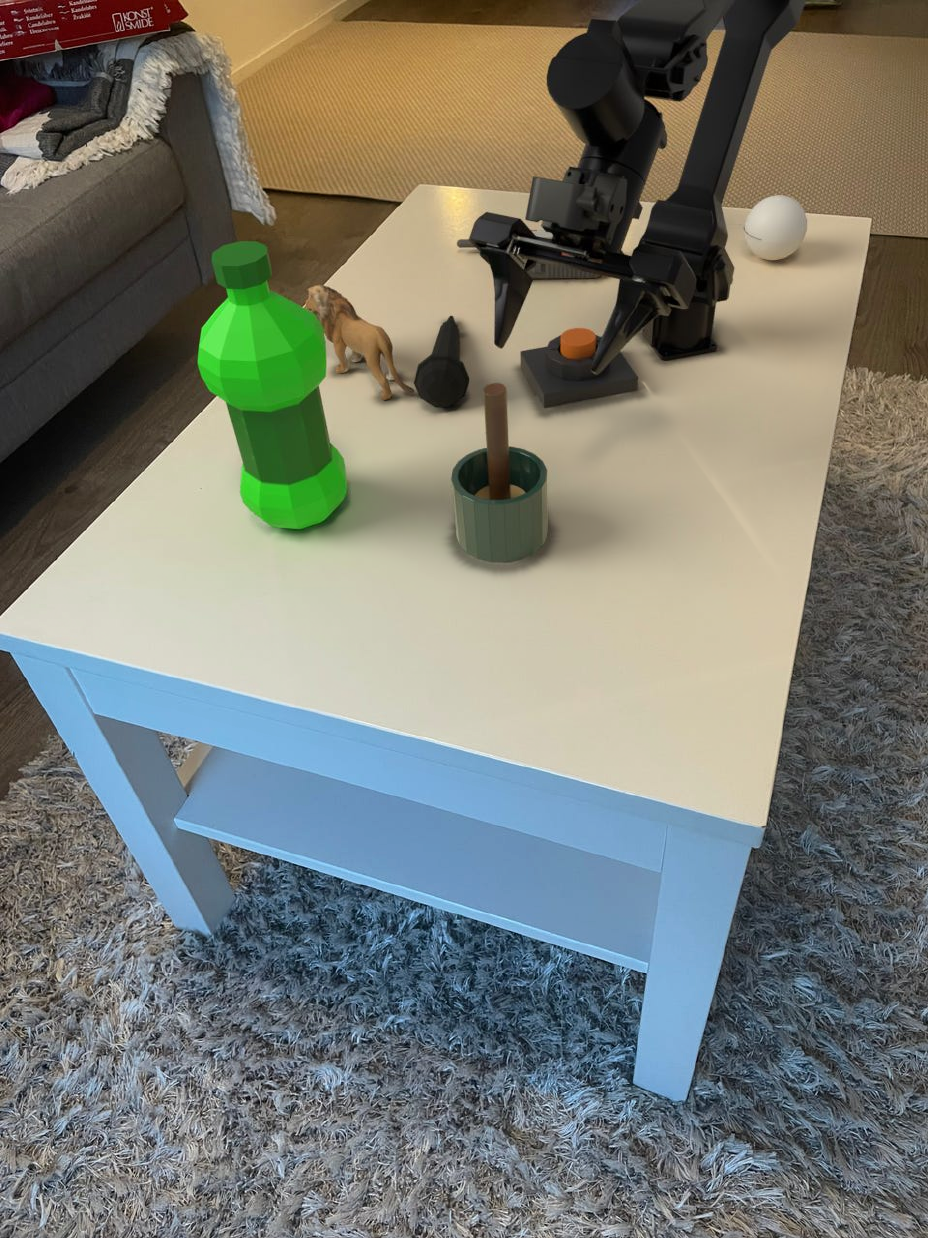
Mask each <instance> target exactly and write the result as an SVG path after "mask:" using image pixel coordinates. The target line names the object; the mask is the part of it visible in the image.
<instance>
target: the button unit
mask: <svg viewBox="0 0 928 1238" xmlns="http://www.w3.org/2000/svg"><path fill="white" fill-rule="evenodd" d="M561 335H562V334H559V335H558V336H556V337H555V338H553V339H551V340H549V342H548V344H547V346H542V347H536V348H531V349H526V350H520V352H519V353H520V370H521V373H522V375H523V376H524V378H525V379H526V381H527V383H528V385H529V387H530V389H531V391H532V393H533V395H534V396H535V397H537V398H538V399H539V402H540V404H541V405H542V407H543V409H548V408H553V407H557V406H564V405H568V404H574V403H579V402H584V401H590V400H596V399H602V398H605V397H610V396H617V395H622V394H626V393H631V392H637V391H638V384H639V383H638V382H639V376H638V374H637V373H636V372H635V370H634V368H632V366H631V364H630V363H629V362H628V360H627V359H626V358H625V356H624V355H623V353H622V351H620V352H619V353H618V354H617V355H616V356H615V357H614V358H613V359H612V360H611V361H610V363H609V364H608V365H607V366H606V367H605V368H604V369H603V370H602V371H601V372H600V373H599V374H594V373H593V372H592V371H591V367H592V363H593V360H594V356H595V354H594V355H593V356H591V357H589V358H584V359H570V358H566V357H564V356H562V355H561ZM595 335H596V350H597V348H598V345H599V343H600V341H601V338H602V336H599V335H597V334H595ZM595 353H596V352H595Z"/></svg>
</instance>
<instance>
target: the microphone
mask: <svg viewBox="0 0 928 1238" xmlns="http://www.w3.org/2000/svg"><path fill="white" fill-rule="evenodd" d="M460 343H461V342H460V328H459V325H458V324H457V323H456V321H455V317H454V316H453V315H449V316H448V318H447V320H446V321H444V322H442V324H441V325H440V327H439V330H438V332H437V336H436V339H435V342H434V345H433V348H432V352H431V354H430V355H428V356H427V357H426V358H425V359H423V360H422V361H421V362H419V363H418V364H417V368H416V372H415V376H414V380H413V385H414V388H415V389H416V391H417V394H418V396H419V398H420V399H421V400H422V401H424V402H426V403H428V404H429V405H431V406H433V407H434V408H449V407H453V406H455V405H456V404H457V403H458V402H460V401H461V400H463V399H464V398H465V397H466V395H467V391H468V387H469V384H470V376H469V374H468V371H467V368H466V366H465V364H464V362H463V361H461V360H460V359H461V355H460V353H461V352H460V350H461V348H460Z"/></svg>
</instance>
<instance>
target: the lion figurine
mask: <svg viewBox="0 0 928 1238" xmlns="http://www.w3.org/2000/svg"><path fill="white" fill-rule="evenodd" d="M307 291H308V298H307V299H306V300H305V305H304V306H303V308H304V309H306V310H308V311H310V312H311V313H313V314H315V316H316V317H317V319H318V320H319V322H320V323H321V325H322V327H323V330H324V335H325V339H326V340H328V341H329V342H330V343H332V344H333V345H332V346H333V349H334V352H335V356H336V357H337V359H338V361H339V364H338V365H337V366H336V367H335V371H336V373H337V374H344V373H346V372H348V371H349V368H350V367H349V362H348V359H347V356H346V350H347V347H348V348H349V349H350V350H351V351H352V353H351V356H350V360H351V362H352V363H359V362H361V361H362V359H363V357H362V355H363V356H364V359H365V361H366V364H367V367H368V369H369V371H370V373H371V374H372V376H373V377H374V378H375V380H376V381H377V382H378V383H379V385H380V386H381V388H382V390H381V391H380V394H379V396H380V399H381V400H382V401H386V400H389V399H391V397H392V395H393V393H392V390H391V386H390V383H389V381H394V382H395V383H396V384H397V385H398V387H400V389H402V390H403V391H404V392H405V393H406V394H410V395H412V394H415V392H416V391H415V389H414V388H412V387H411V386H409V385H408V384H406V383H404V382H402V380H401V379H400V377H399V375H398V374H397V369H396V367H395V365H394V355H393V351H394V346H393V343H392V340H391V338H390V336H389V335H388V333H387V332H386V331H385V329H384V328H383V327H381V326H379V325H374V324H372V323H370V322H368V321H366V320H364V319H363V318H361V316H359V315H358V314H357V312H356V309H355V308H354V306H353V304H352V303H351V302H350V301H349V300H348V298H346V297H345V296H343V294H342V293H340V292H338V291H337V290H336V289H335V288H331V287H329V286H326V285H324V284H318V285H313V286H310V287H308V288H307ZM381 356H382V358H383V360H384V362H385V364H386V365H387V370H388V372H387V373H386V374H385V375H384V373H383V371H382V367H381Z"/></svg>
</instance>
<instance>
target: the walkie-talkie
mask: <svg viewBox="0 0 928 1238" xmlns="http://www.w3.org/2000/svg"><path fill="white" fill-rule="evenodd" d="M530 230H531V231H532V232H533V233H534V234H535V236H538V237H543V238H548V239H552V237H553V235H552V234H551V233H549V232H546V231H545V230H544V229H539V230H538V229H530ZM468 240H469V238H465V239H463V238H461V239H458V240H457V241H456V246H457V247H458V248H460V249H462V248H463V249H466V248H467V249H471V248H472V249H474V248H475V247H474V246H473V245H472V244H471V243H470V242H469V241H468ZM475 249H476V248H475ZM562 255H564V256H569V257H571V256H570V255H567V254H564V253H562ZM588 261H590V260H588ZM592 262H595V261H592ZM597 263H599V262H597ZM601 264H602V263H601ZM527 273H528V274H529V275H530V276H531V277H532V278H533V280H535V279H596V278H598V277H601V276H602V275H598V274H593V273H589V272H584V271H580V270H575V269H571V268H566V267H562V266H557V265H553V264H548V263H544V262H539V261H537V263H536V266H535V267H533V268H532V269H530V270H529V271H527Z"/></svg>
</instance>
